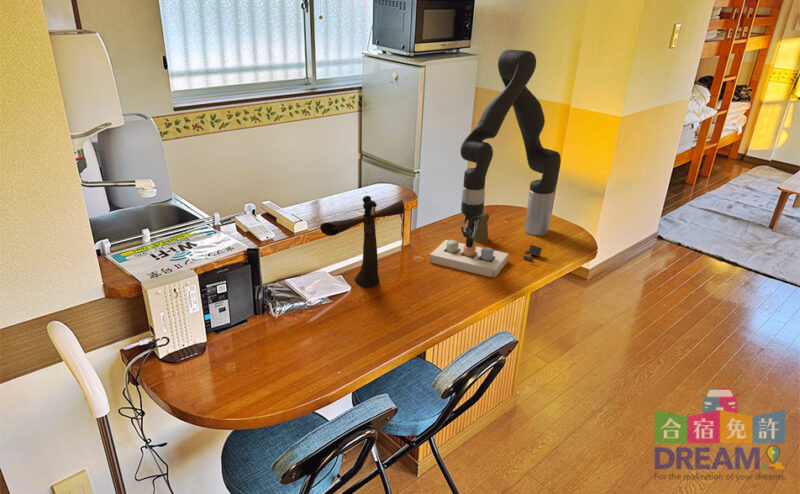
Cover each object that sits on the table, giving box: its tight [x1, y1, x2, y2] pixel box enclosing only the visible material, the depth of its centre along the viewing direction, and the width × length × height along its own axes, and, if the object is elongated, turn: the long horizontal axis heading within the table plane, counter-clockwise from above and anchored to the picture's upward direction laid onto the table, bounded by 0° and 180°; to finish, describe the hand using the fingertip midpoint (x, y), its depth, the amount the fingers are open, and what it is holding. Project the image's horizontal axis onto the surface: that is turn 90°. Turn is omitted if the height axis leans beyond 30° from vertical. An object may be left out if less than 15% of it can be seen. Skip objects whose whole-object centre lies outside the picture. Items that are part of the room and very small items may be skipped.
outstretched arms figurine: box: [319, 195, 406, 288], centre depth 173 cm, size 32×10×30 cm, turn 130°
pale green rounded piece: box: [445, 239, 459, 254], centre depth 194 cm, size 4×4×4 cm
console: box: [429, 239, 509, 279], centre depth 193 cm, size 14×24×3 cm, turn 62°
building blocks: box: [523, 244, 543, 262], centre depth 195 cm, size 3×6×8 cm
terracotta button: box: [462, 243, 477, 258], centre depth 192 cm, size 4×4×4 cm
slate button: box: [480, 247, 495, 262], centre depth 189 cm, size 4×4×4 cm
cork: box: [474, 211, 490, 243], centre depth 208 cm, size 6×6×11 cm
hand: (469, 246), depth 191 cm, fingers closed
